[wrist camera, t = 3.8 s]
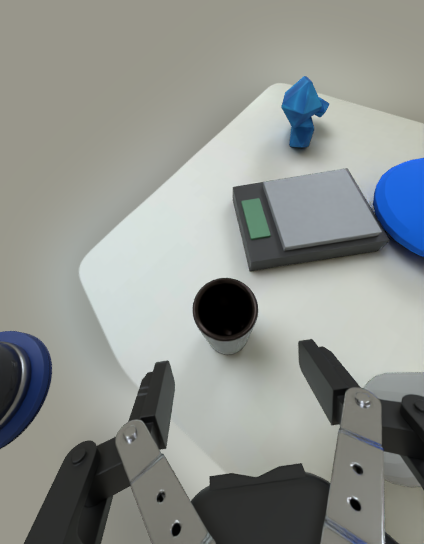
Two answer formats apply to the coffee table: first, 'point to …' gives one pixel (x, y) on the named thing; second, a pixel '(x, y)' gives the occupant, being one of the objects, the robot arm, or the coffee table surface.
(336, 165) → the coffee table surface
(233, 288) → the grey cylindrical tube
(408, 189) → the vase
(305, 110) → the crystal
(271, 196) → the scale
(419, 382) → the cup
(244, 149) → the coffee table surface
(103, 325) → the coffee table surface
